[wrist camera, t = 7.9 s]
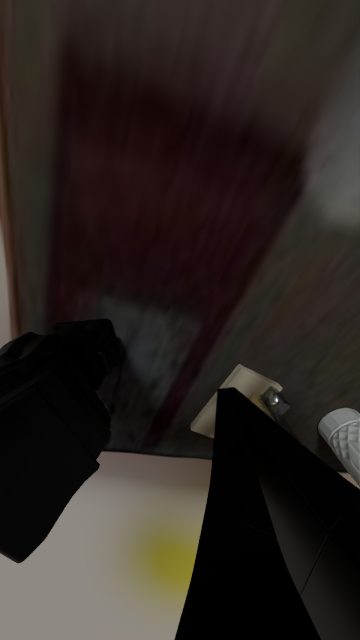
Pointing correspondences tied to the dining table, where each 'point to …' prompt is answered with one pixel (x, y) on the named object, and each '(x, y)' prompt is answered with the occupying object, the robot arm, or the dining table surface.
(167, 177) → the dining table surface
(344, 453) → the white cup
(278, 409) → the grey two-prong bracket
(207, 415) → the birch board
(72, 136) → the dining table surface
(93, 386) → the robot arm
